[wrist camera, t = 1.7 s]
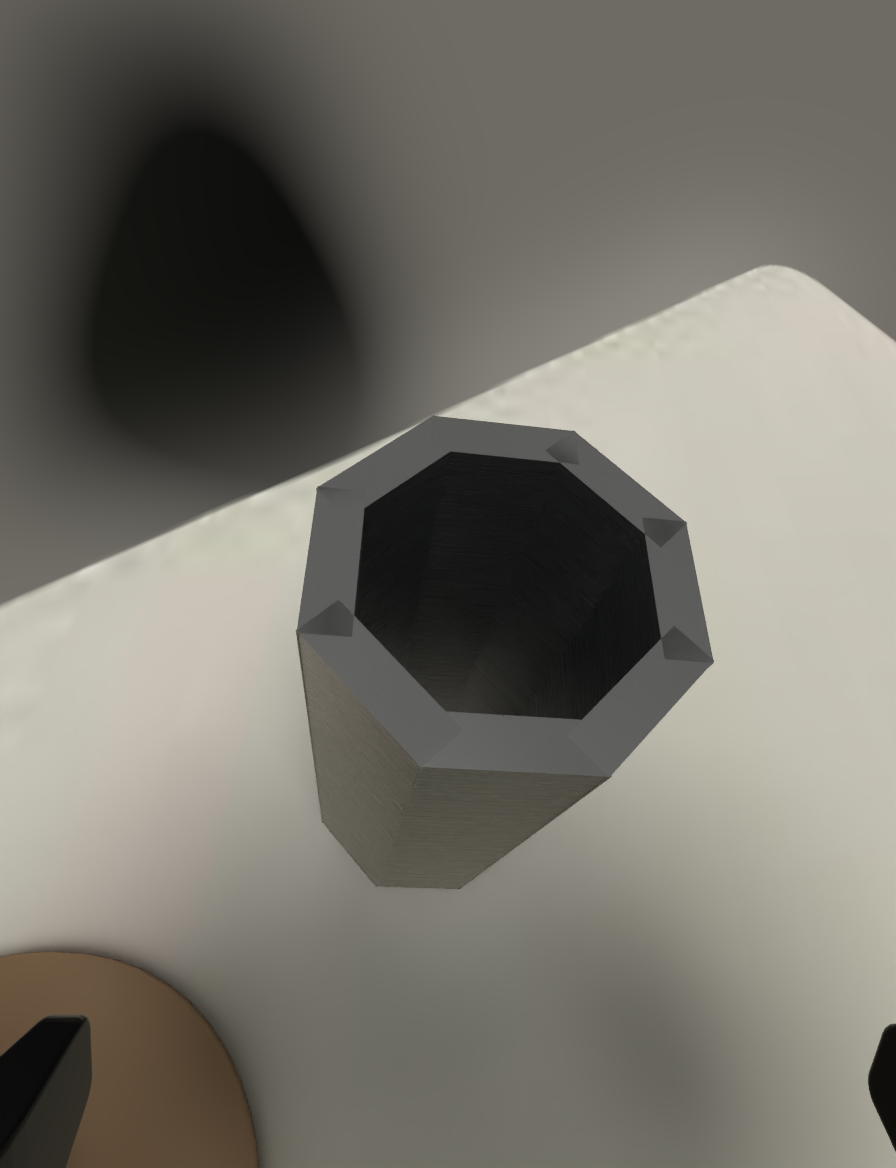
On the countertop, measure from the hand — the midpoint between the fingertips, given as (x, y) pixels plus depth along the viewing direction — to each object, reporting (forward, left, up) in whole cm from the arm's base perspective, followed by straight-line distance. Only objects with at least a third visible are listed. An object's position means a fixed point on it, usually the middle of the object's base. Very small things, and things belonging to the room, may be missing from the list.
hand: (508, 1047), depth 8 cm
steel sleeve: (+5, +3, -11) cm, 13 cm away
